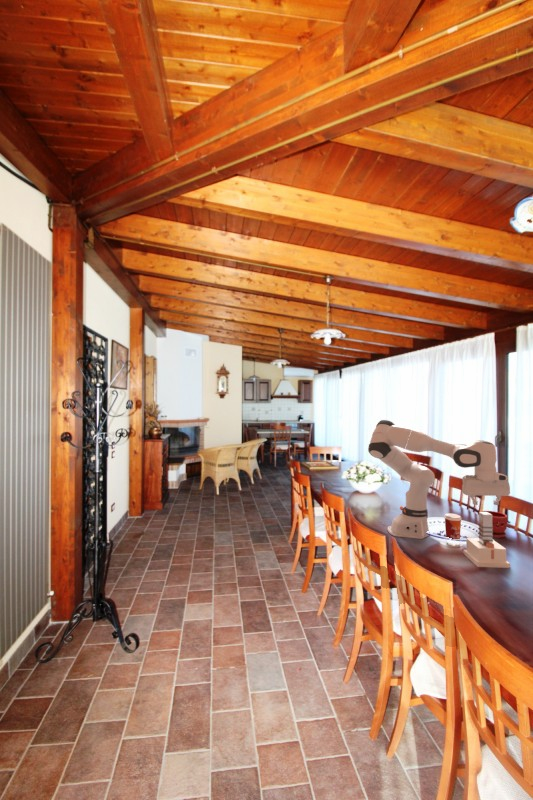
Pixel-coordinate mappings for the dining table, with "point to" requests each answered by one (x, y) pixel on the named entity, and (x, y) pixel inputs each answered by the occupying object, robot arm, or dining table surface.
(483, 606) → the dining table surface
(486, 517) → the column
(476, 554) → the sleeve stand
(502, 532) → the plant pot
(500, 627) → the dining table surface
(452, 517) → the coffee cup
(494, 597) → the dining table surface
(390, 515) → the dining table surface
